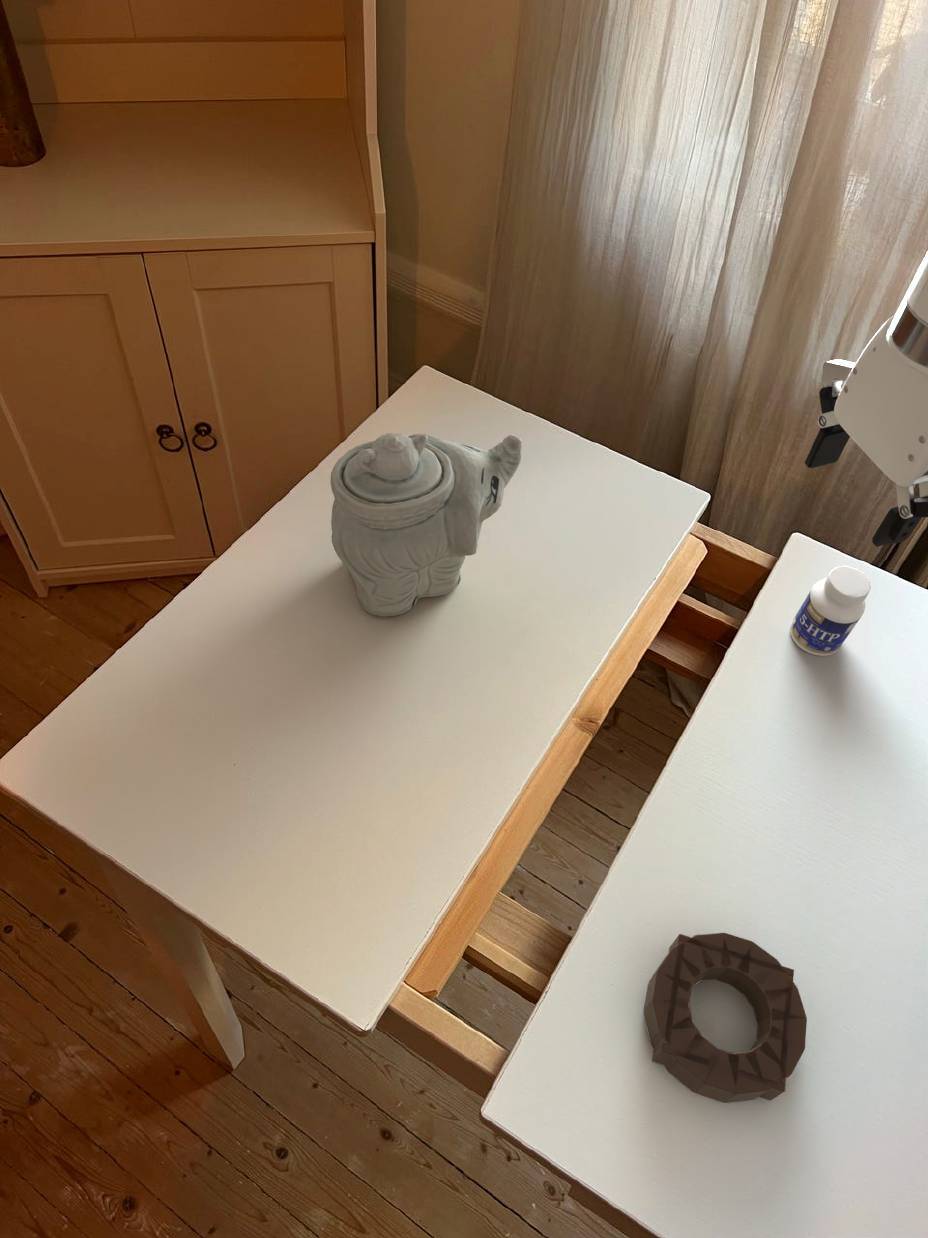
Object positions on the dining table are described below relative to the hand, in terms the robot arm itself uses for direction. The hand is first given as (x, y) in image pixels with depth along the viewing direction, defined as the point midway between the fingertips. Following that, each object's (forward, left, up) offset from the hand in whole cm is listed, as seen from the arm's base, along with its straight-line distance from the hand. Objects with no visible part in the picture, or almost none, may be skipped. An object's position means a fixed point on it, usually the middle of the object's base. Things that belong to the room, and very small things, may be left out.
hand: (852, 500), depth 82 cm
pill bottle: (-3, +3, -20) cm, 20 cm away
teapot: (+22, -29, -20) cm, 41 cm away
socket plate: (+35, +19, -19) cm, 44 cm away
